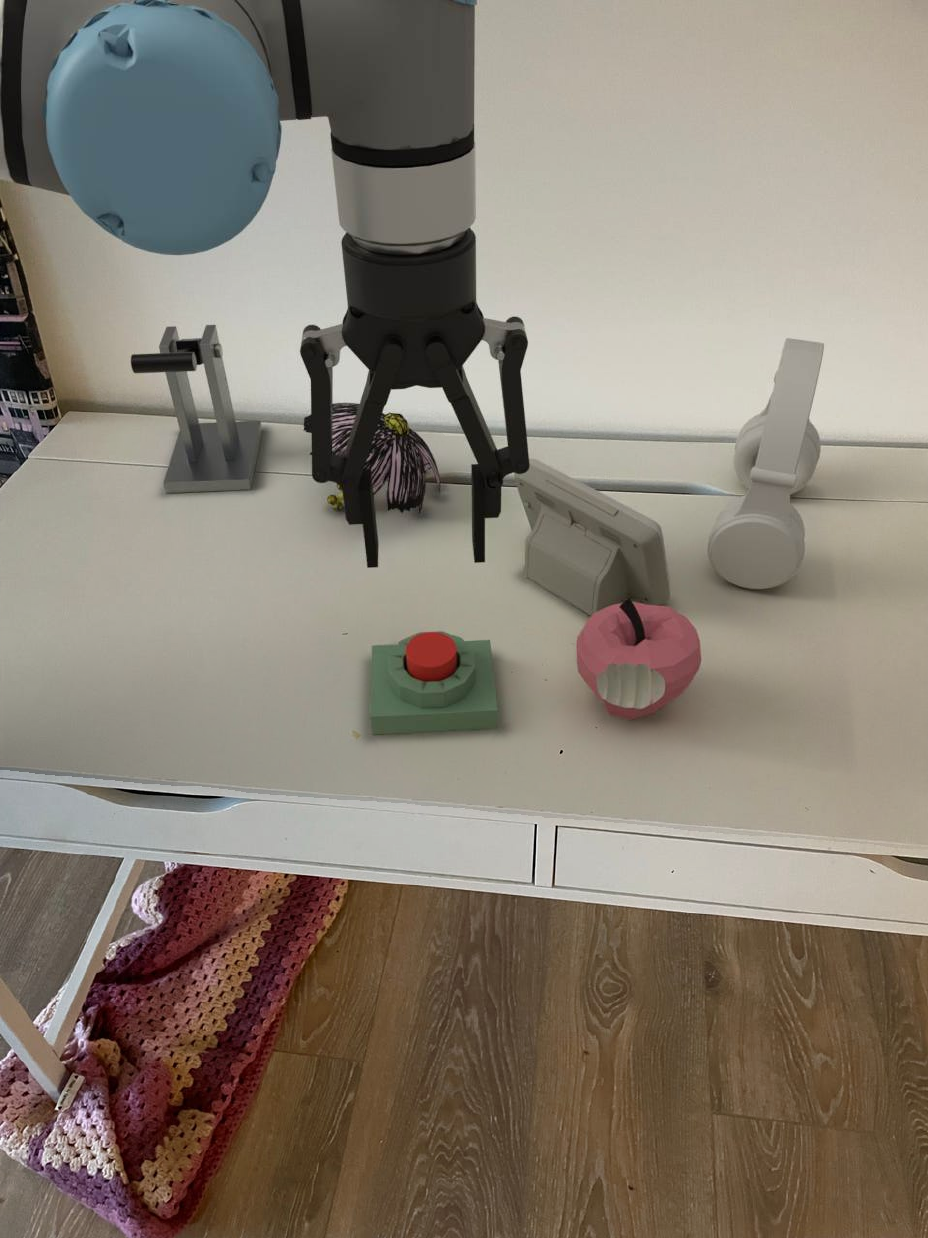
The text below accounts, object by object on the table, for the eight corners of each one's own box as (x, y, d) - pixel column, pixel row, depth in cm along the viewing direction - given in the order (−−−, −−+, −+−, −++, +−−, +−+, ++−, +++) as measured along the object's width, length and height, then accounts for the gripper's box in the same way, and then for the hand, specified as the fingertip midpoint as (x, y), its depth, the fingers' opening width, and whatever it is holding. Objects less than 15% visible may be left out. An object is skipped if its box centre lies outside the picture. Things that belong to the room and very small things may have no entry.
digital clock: (679, 608, 85) (697, 513, 78) (601, 647, 81) (612, 551, 74) (568, 519, 95) (575, 428, 88) (495, 551, 92) (496, 458, 84)
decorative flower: (452, 457, 86) (296, 402, 85) (416, 566, 91) (269, 516, 91) (467, 416, 99) (332, 369, 98) (434, 514, 104) (306, 470, 103)
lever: (194, 375, 85) (190, 348, 84) (132, 378, 85) (128, 350, 84) (222, 361, 97) (219, 337, 96) (169, 363, 97) (165, 339, 96)
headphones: (730, 469, 101) (767, 296, 88) (810, 483, 99) (860, 308, 86) (698, 582, 88) (736, 397, 74) (791, 602, 85) (847, 415, 72)
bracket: (250, 489, 100) (224, 361, 90) (165, 493, 100) (130, 365, 90) (262, 430, 109) (239, 307, 99) (184, 433, 108) (153, 310, 98)
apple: (559, 727, 75) (567, 637, 68) (584, 654, 81) (593, 565, 74) (680, 756, 73) (700, 666, 66) (696, 679, 79) (716, 588, 72)
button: (407, 683, 74) (406, 668, 72) (406, 648, 77) (405, 632, 75) (458, 681, 74) (457, 665, 73) (455, 645, 77) (455, 630, 76)
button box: (372, 735, 75) (368, 701, 72) (373, 663, 80) (370, 629, 78) (497, 728, 75) (498, 694, 72) (490, 657, 81) (490, 623, 78)
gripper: (576, 198, 55) (556, 515, 71) (236, 210, 54) (291, 527, 70) (596, 248, 49) (570, 580, 65) (218, 261, 49) (283, 594, 64)
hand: (425, 552), depth 67 cm, fingers open, 7 cm apart
